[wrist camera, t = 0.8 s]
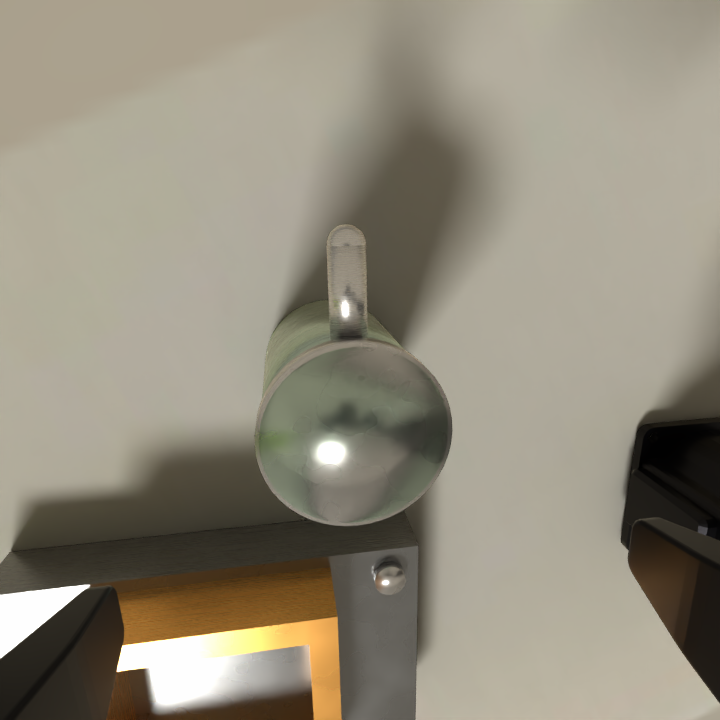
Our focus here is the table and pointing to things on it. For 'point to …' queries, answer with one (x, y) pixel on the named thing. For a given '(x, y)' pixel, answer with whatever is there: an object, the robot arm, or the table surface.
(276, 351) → the spout can
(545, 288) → the table surface
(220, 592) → the grey orange socket fixture
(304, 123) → the table surface
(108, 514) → the table surface
